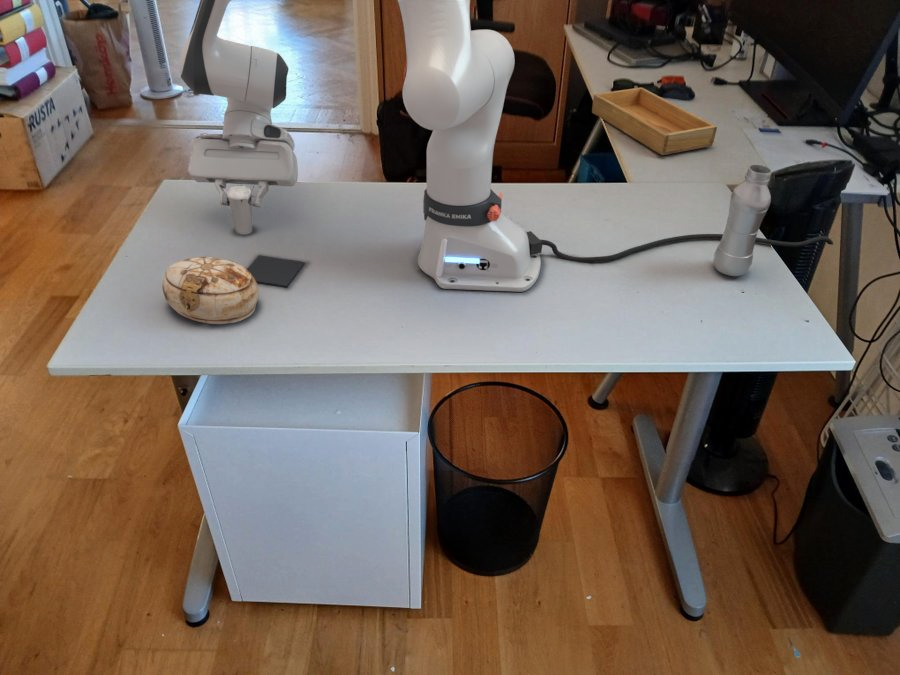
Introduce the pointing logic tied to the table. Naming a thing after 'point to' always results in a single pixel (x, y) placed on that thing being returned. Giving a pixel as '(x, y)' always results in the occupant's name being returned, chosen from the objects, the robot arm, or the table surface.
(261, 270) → the mat
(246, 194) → the milkshake
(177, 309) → the trinket box
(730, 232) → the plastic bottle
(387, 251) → the table surface
